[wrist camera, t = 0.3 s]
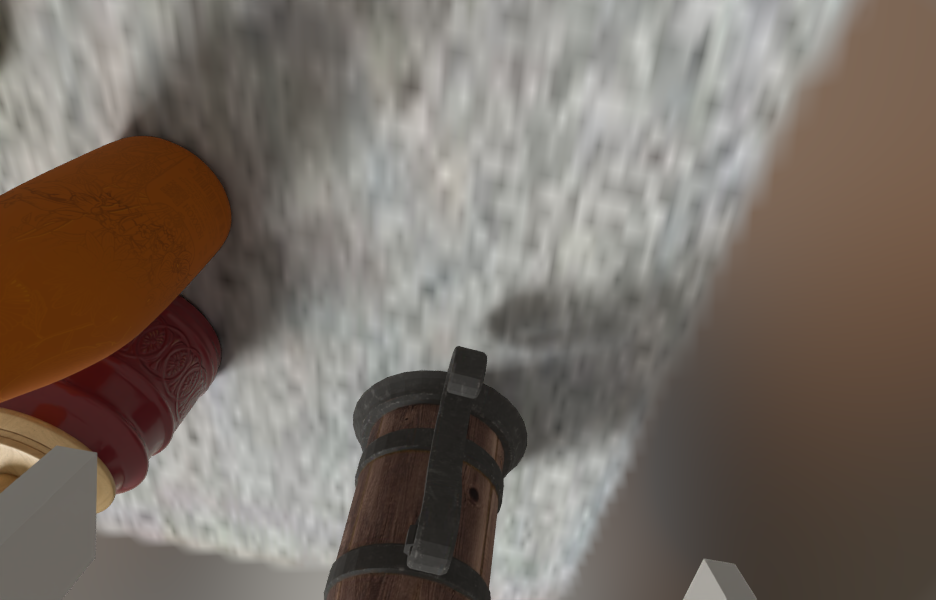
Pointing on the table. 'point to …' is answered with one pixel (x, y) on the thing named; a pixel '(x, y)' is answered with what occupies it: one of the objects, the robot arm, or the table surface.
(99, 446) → the canister
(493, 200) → the table surface
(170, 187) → the wine bottle
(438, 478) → the tankard
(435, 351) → the table surface
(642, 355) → the table surface
